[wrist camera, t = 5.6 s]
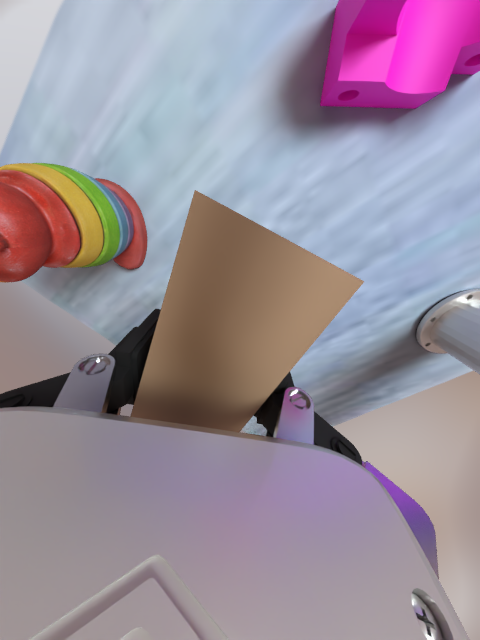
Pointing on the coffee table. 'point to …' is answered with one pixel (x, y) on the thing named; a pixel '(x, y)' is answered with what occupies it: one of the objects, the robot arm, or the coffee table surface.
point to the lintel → (234, 319)
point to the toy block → (399, 51)
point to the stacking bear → (65, 221)
